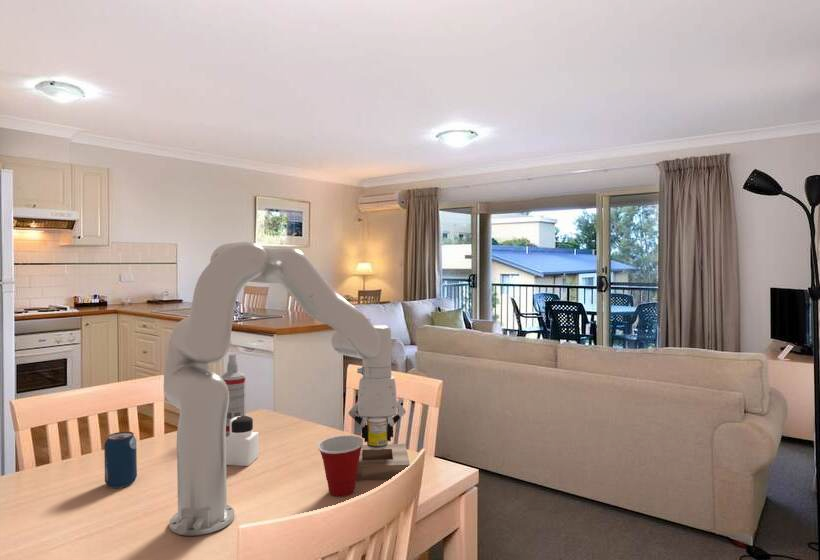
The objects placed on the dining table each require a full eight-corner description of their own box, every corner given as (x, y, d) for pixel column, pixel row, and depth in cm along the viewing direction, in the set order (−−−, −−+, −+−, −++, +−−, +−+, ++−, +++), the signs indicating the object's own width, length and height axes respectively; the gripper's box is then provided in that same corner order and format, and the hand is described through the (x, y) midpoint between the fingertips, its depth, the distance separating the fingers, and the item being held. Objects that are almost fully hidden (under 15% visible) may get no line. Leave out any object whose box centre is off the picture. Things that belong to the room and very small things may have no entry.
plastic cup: (313, 486, 129) (313, 437, 129) (356, 480, 133) (356, 432, 133) (322, 505, 119) (322, 451, 119) (369, 497, 123) (369, 446, 122)
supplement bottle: (372, 442, 145) (372, 405, 145) (391, 444, 143) (391, 406, 143) (363, 449, 140) (363, 410, 139) (383, 451, 138) (382, 412, 137)
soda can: (143, 479, 133) (142, 432, 133) (121, 490, 127) (120, 440, 126) (120, 476, 135) (120, 429, 135) (98, 487, 129) (97, 438, 128)
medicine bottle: (259, 457, 149) (258, 414, 149) (248, 466, 142) (248, 421, 142) (234, 456, 150) (234, 413, 150) (223, 465, 143) (222, 421, 143)
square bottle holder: (410, 478, 134) (409, 464, 134) (345, 480, 133) (345, 466, 133) (405, 455, 150) (405, 443, 150) (348, 457, 149) (347, 445, 148)
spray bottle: (242, 433, 170) (242, 355, 169) (218, 435, 169) (217, 356, 168) (247, 426, 178) (246, 351, 177) (223, 427, 177) (223, 352, 176)
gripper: (343, 375, 136) (344, 446, 137) (410, 374, 138) (411, 443, 138) (344, 370, 144) (345, 436, 144) (408, 368, 145) (408, 434, 146)
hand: (377, 439), depth 141 cm, fingers closed on supplement bottle, 5 cm apart
